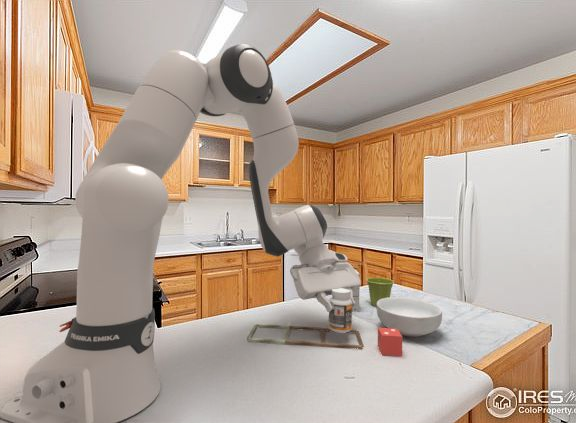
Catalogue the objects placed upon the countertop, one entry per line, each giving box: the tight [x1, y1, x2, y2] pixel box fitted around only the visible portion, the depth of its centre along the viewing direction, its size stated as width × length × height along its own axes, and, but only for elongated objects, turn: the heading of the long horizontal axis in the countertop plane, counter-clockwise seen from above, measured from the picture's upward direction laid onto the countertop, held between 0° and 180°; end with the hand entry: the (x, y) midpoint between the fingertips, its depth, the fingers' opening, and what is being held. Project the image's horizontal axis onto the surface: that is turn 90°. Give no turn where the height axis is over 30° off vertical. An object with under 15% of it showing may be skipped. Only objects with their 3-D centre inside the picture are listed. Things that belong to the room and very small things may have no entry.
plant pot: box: [365, 277, 395, 308], centre depth 102 cm, size 9×9×9 cm
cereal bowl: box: [376, 296, 443, 338], centre depth 80 cm, size 17×17×7 cm
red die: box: [377, 327, 403, 357], centre depth 68 cm, size 4×4×5 cm
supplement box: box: [352, 268, 361, 312], centre depth 98 cm, size 7×7×13 cm
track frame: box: [246, 323, 365, 350], centre depth 75 cm, size 28×10×1 cm, turn 84°
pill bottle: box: [328, 288, 353, 334], centre depth 74 cm, size 6×6×10 cm
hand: (342, 308), depth 73 cm, fingers closed on pill bottle, 6 cm apart
